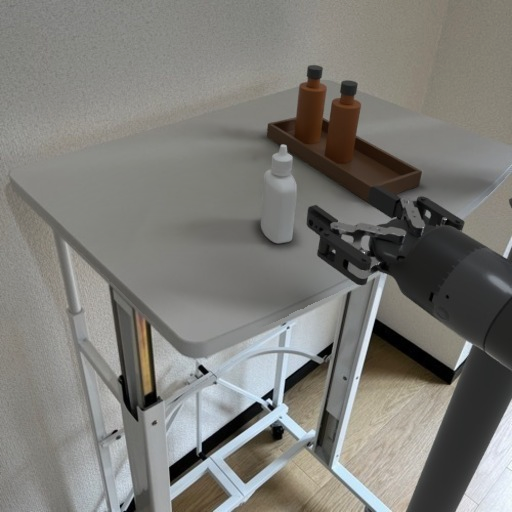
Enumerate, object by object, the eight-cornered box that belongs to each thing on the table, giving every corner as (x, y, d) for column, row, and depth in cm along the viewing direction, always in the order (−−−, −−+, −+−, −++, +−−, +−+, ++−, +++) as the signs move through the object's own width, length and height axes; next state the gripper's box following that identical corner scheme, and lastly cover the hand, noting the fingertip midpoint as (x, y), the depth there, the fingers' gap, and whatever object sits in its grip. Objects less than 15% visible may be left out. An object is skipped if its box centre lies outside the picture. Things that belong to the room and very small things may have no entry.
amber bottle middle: (339, 149, 90) (350, 76, 83) (357, 159, 88) (370, 85, 81) (318, 154, 88) (328, 80, 81) (336, 165, 85) (348, 89, 78)
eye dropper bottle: (294, 222, 72) (304, 137, 65) (290, 246, 68) (300, 158, 61) (261, 218, 73) (267, 134, 66) (255, 242, 68) (261, 154, 61)
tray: (313, 126, 99) (314, 112, 97) (418, 186, 83) (422, 171, 81) (266, 137, 94) (267, 123, 93) (369, 203, 78) (372, 187, 76)
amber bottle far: (309, 131, 96) (317, 61, 89) (325, 140, 93) (335, 69, 86) (288, 136, 94) (295, 65, 86) (304, 146, 91) (313, 73, 84)
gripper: (531, 228, 48) (396, 156, 59) (420, 279, 41) (290, 187, 52) (503, 293, 53) (383, 215, 63) (400, 349, 46) (284, 251, 56)
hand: (341, 203), depth 58 cm, fingers open, 8 cm apart
